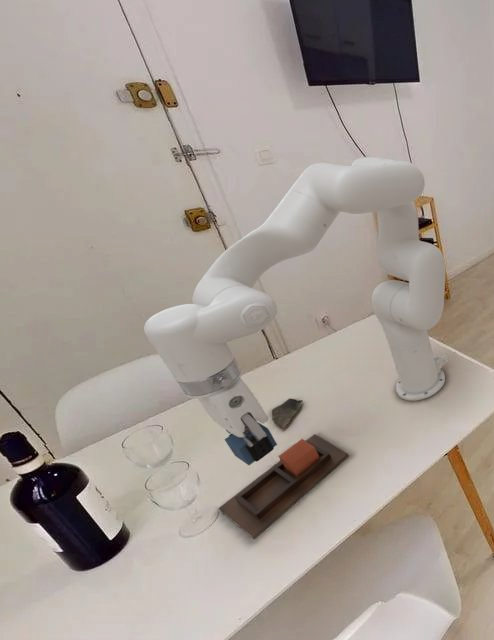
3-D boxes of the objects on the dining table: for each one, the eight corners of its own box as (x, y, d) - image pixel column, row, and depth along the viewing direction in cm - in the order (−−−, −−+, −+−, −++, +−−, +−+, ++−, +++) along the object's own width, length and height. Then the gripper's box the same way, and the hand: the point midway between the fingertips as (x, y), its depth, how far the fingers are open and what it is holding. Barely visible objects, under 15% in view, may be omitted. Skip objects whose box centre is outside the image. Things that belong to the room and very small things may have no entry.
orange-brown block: (309, 452, 91) (301, 438, 89) (321, 460, 89) (314, 446, 87) (286, 469, 88) (278, 456, 85) (298, 479, 86) (290, 465, 83)
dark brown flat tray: (316, 436, 96) (312, 429, 95) (349, 456, 91) (345, 448, 90) (220, 511, 81) (214, 503, 80) (254, 539, 76) (248, 531, 75)
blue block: (263, 435, 79) (253, 419, 76) (277, 444, 77) (268, 428, 75) (235, 456, 75) (224, 439, 73) (249, 465, 73) (238, 449, 71)
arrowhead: (280, 433, 97) (277, 429, 97) (268, 412, 103) (266, 408, 103) (312, 416, 102) (310, 412, 101) (299, 397, 108) (297, 393, 107)
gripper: (264, 376, 66) (303, 451, 75) (210, 348, 73) (252, 419, 82) (211, 408, 60) (261, 484, 69) (158, 374, 67) (209, 447, 76)
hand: (255, 448), depth 76 cm, fingers closed on blue block, 4 cm apart
